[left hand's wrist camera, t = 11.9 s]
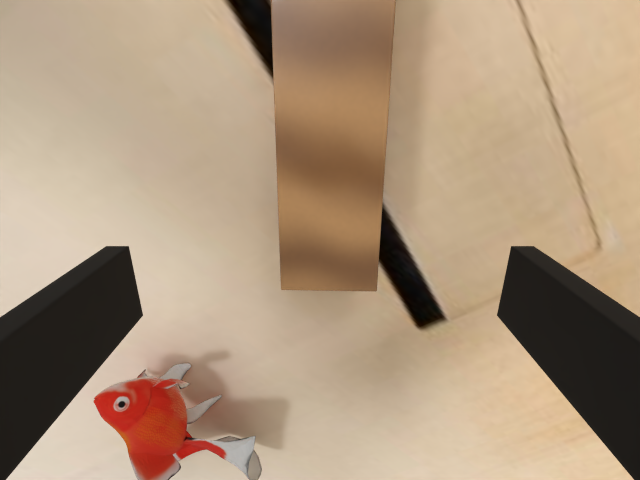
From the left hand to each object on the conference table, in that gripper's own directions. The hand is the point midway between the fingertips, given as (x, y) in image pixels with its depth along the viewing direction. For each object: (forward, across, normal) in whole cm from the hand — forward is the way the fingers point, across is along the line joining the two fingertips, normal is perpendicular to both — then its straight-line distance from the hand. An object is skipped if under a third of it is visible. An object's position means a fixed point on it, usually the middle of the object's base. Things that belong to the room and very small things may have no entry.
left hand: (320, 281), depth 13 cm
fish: (+15, +11, +20) cm, 27 cm away
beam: (+16, -1, -33) cm, 36 cm away
